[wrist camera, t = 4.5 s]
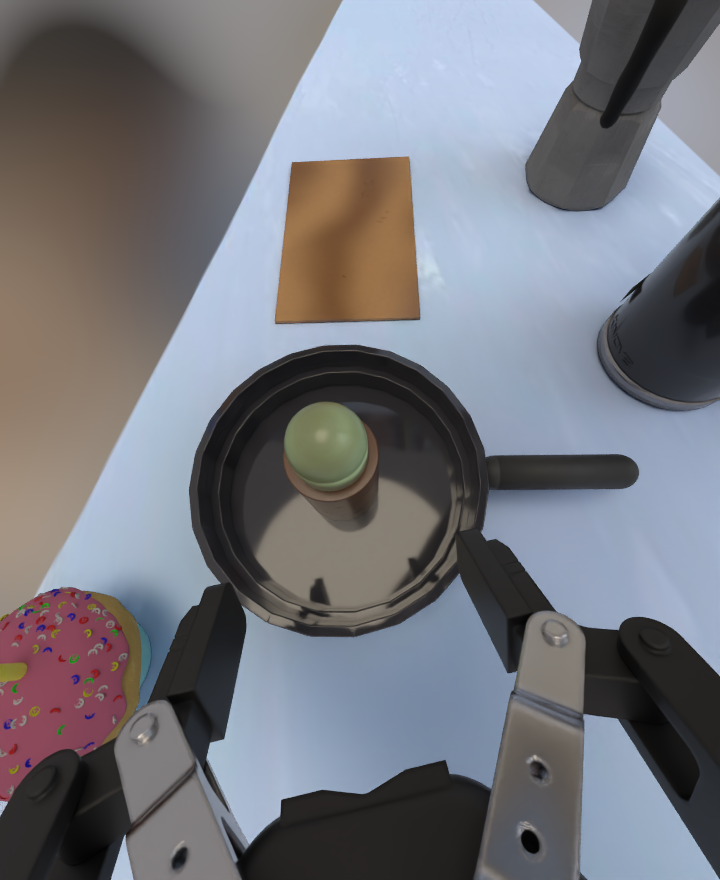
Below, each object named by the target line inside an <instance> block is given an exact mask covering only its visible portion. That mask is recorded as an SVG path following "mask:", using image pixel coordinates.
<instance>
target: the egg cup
mask: <svg viewBox="0 0 720 880" xmlns="http://www.w3.org/2000/svg"><path fill="white" fill-rule="evenodd" d="M283 462H284V468H285V472H286V475H287V477H288V479H289V481H290V482H291V484H292V485H293V486H294V487H295V489H296V490H297V491H298V492H299V493H300V494H301V495H302V496H303V497H304V498H305V499H306V500H307V501H308V502H309V503H310V504H311V505H312V506H313V507H314V508H315V509H316V510H317V511H318V512H319V513H320V514H321V515H323V516H325V517H327V518H329V519H332V520H337V521H347V520H352V519H354V518H357V517H359V516H361V515H362V514H364V513H365V512H366V511H367V510H368V509H369V508H370V507H371V506H372V504H373V503H374V501H375V499H376V496H377V493H378V478H379V453H378V445H377V442H376V439H375V436H374V435H373V433H372V431H371V430H370V428H369V427H368V426H367V425H366V424H365V423H364V422H363V421H361V420H360V418H359V417H358V416H357V415H356V414H355V413H354V412H353V411H351V410H350V409H349V408H347V407H346V406H344V405H341V404H339V403H335V402H326V401H325V402H317V403H314V404H310V405H308V406H306V407H304V408H303V409H301V410H300V411H299V412H297V414H296V415H295V416H294V417H293V418H292V419H291V421H290V422H289V424H288V426H287V429H286V432H285V437H284V455H283Z"/></svg>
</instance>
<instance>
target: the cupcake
mask: <svg viewBox="0 0 720 880" xmlns="http://www.w3.org/2000/svg"><path fill="white" fill-rule="evenodd" d="M5 616H6V617H5ZM4 617H5V619H4ZM150 661H151V645H150V641H149V638H148V635H147V633H146V632H145V630H144V629H143V628H142V627H141V626H140V625H139V624H138V623H137V622H136V621H135V618H134V617H133V615H132V614H131V613H130V612H129V611H128V610H127V609H125V608H124V606H123V605H122V604H121V603H120V602H119V600H117V599H116V598H114V597H112V596H109V595H105V594H100V593H96V592H90V591H81V590H79V589H76V588H73V587H61V588H60V589H53V590H52V591H48V592H46V593H40V594H38V596H37V597H35V598H34V599H32V600H30V601H29V602H27V603H26V604H24V605H22V606H21V607H19V608H18V609H17V610H15V611H14V612H12V613H11V614H10V615H9V614H7V615H4V616H2V617H1V619H0V801H7V802H9V800H10V798H11V796H12V795H13V793H14V791H15V790H16V788H17V786H18V785H19V784H20V782H21V781H22V780H23V779H24V777H25V776H26V775H27V774H28V773H29V772H30V771H31V770H32V769H33V768H34V767H35V766H36V765H37V764H38V763H39V762H41V761H42V760H43V759H45V758H46V757H48V756H49V755H51V754H53V753H55V752H57V751H59V750H63V749H72V750H74V751H76V752H77V753H78V754H79V756H80V757H82V756H83V755H85V754H87V753H89V752H91V751H92V750H94V749H96V748H98V747H100V746H101V745H103V744H105V743H107V742H109V741H111V740H112V739H114V738H116V737H117V736H118V734H119V732H120V730H121V728H122V727H123V725H124V724H125V723H126V721H127V720H128V719H129V718H130V717H131V716H132V715H133V713H134V712H135V710H136V708H137V706H138V703H139V696H140V686H141V685H142V683H143V681H144V680H145V677H146V675H147V673H148V670H149V666H150Z"/></svg>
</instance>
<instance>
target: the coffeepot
mask: <svg viewBox="0 0 720 880" xmlns="http://www.w3.org/2000/svg"><path fill="white" fill-rule="evenodd" d="M719 24H720V0H592V4H591V8H590V11H589V15H588V19H587V22H586V26H585V30H584V34H583V37H582V41H581V45H580V48H579V51H580V58H581V63H580V66H579V68H578V71H577V73H576V76H575V78H574V81H572V83H571V84H570V85H569V86H568V87H567V88H566V89H565V91H564V93H563V95H562V97H561V99H560V100H559V102H558V104H557V106H556V108H555V110H554V112H553V114H552V116H551V117H550V119H549V121H548V123H547V125H546V127H545V129H544V131H543V132H542V134H541V136H540V138H539V140H538V142H537V144H536V146H535V148H534V149H533V151H532V153H531V155H530V157H529V159H528V161H527V163H526V175H527V183H528V186H529V187H530V190H531V191H532V192H533V193H534V194H535V195H536V196H537V197H538V198H540V199H541V200H543V201H544V202H546V203H548V204H550V205H552V206H555V207H558V208H561V209H567V210H576V211H583V210H591V209H596V208H600V207H603V206H605V205H606V204H607V203H609V202H610V201H612V200H613V199H614V198H615V196H616V195H617V194H618V193H619V192H621V191H622V190H623V189H624V188H625V187H626V185H627V182H628V180H629V178H630V176H631V174H632V171H633V169H634V167H635V165H636V162H637V160H638V158H639V156H640V153H641V151H642V149H643V147H644V145H645V142H646V140H647V138H648V136H649V133H650V131H651V129H652V127H653V124H654V122H655V120H656V118H657V116H658V113H659V111H660V109H661V99H662V97H663V95H664V94H665V92H666V90H667V88H668V86H669V85H670V83H671V81H672V80H673V79H675V78H676V77H677V76H678V75H679V74H681V73H682V72H683V71H684V70H685V69H686V68H687V67H688V65H689V64H690V63H691V61H692V60H693V59H694V57H695V56H696V55H697V53H698V52H699V51H700V49H701V48H702V47H703V45H704V44H705V42H706V41H707V40H708V38H709V37H710V36H711V34H712V33H713V32H714V30H715V29H716V27H717V26H718V25H719Z"/></svg>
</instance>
